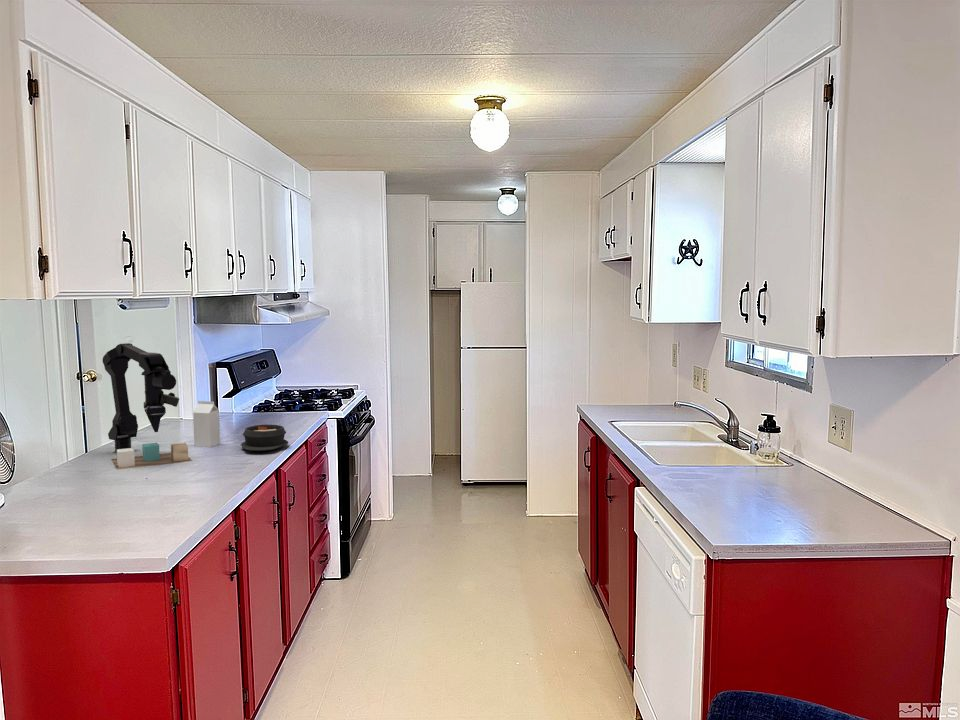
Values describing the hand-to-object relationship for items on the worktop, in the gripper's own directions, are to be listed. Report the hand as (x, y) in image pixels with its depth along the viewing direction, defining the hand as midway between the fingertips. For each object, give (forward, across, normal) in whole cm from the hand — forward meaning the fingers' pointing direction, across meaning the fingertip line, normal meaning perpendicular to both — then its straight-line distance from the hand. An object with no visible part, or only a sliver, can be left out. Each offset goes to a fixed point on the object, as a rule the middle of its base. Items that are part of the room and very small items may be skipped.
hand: (155, 430), depth 263 cm
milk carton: (+12, +18, -20) cm, 29 cm away
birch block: (+11, -3, -8) cm, 14 cm away
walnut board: (+12, 0, +2) cm, 12 cm away
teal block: (+11, +1, +2) cm, 11 cm away
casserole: (+13, +8, -41) cm, 43 cm away
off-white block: (+11, -5, +10) cm, 16 cm away
